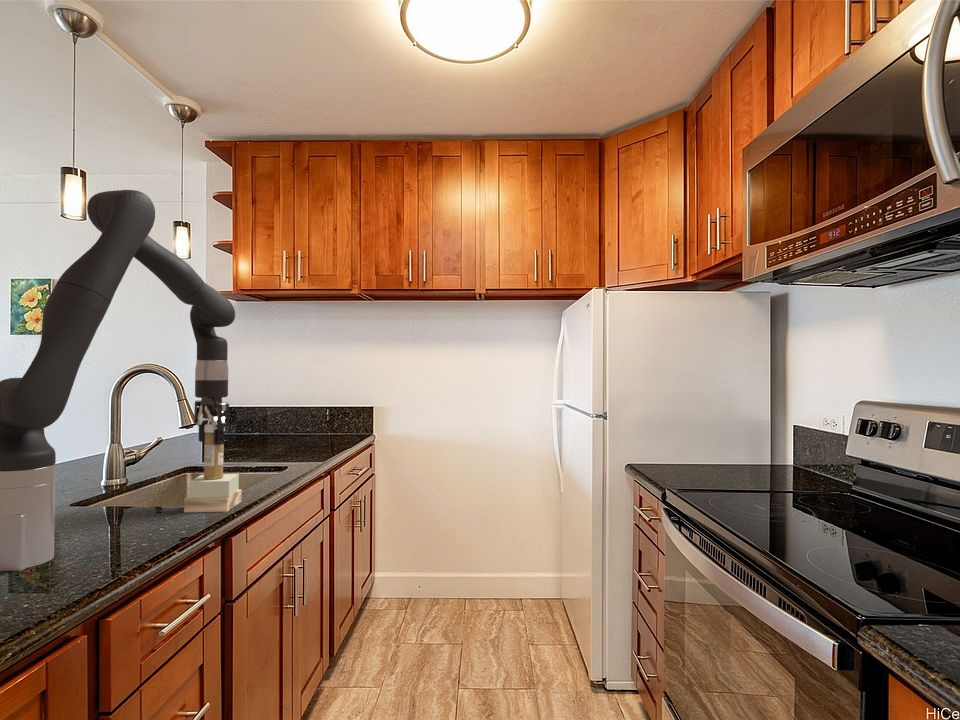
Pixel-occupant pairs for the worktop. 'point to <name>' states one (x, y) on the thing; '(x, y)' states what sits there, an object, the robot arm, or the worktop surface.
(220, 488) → the tower top
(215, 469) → the sprinkles bottle
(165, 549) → the worktop surface
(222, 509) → the tower base
